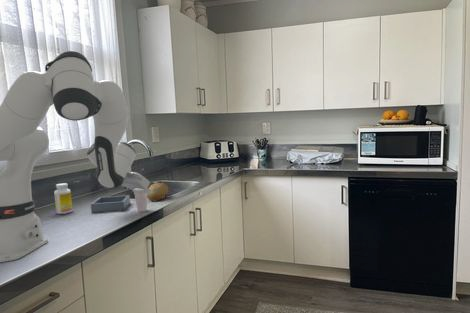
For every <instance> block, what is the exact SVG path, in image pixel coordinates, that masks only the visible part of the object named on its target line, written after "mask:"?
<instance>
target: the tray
mask: <svg viewBox="0 0 470 313" xmlns="http://www.w3.org/2000/svg"><path fill="white" fill-rule="evenodd" d="M130 198H131V196H130V195H129V194H128V195H126V194H125V195H113V196H99V197H98V198H96V199H95V200H94V201H93V202H91V203H90V209H91V210H90V211H91V214H96V213H99V214H100V213H110V212H123V211H126V209H127V208H128V207H129V205H130V204H131V199H130Z"/></svg>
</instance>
